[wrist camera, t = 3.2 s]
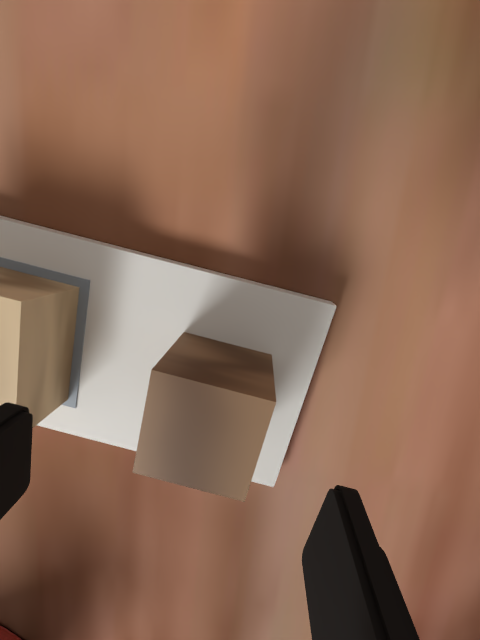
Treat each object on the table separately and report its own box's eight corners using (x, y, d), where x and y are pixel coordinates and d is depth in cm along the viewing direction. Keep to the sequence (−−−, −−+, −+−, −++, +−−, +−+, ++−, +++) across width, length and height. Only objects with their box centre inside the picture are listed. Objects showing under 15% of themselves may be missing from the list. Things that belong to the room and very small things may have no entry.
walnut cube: (271, 354, 16) (276, 402, 11) (249, 430, 18) (244, 501, 13) (184, 331, 16) (151, 369, 11) (167, 409, 18) (132, 472, 13)
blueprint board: (331, 301, 16) (337, 306, 15) (273, 472, 20) (273, 488, 18) (-49, 202, 16) (-75, 199, 15) (-46, 389, 20) (-67, 399, 18)
